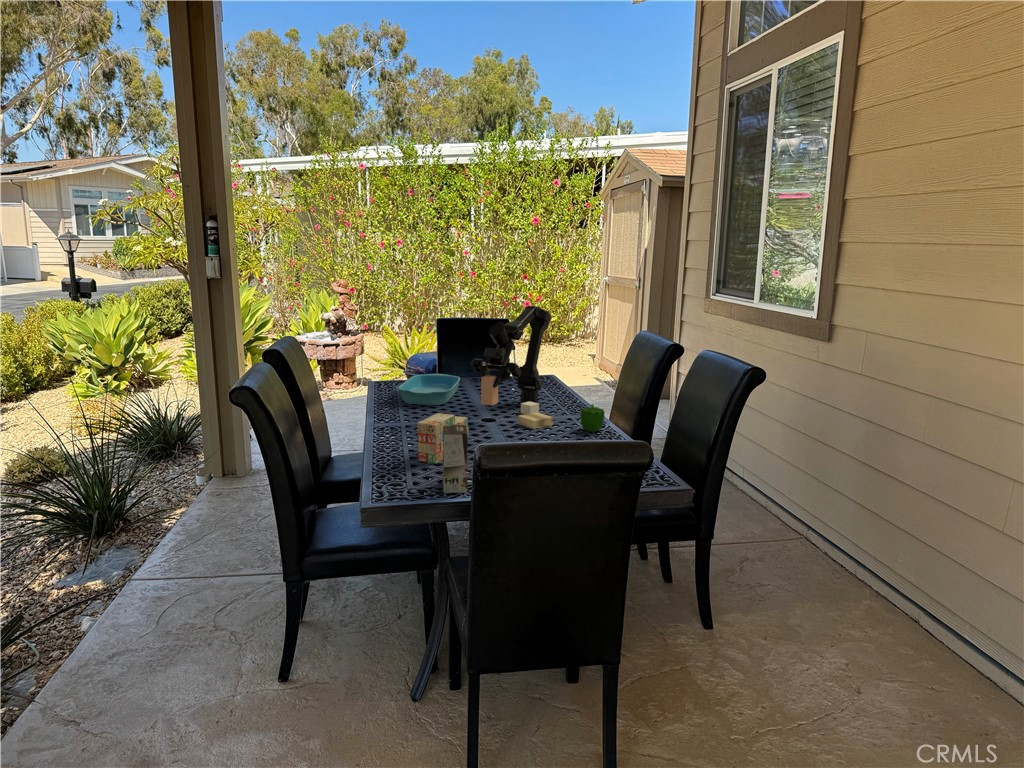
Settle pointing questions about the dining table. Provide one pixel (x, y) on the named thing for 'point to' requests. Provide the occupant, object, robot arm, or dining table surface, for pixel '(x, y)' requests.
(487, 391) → the pillar brick
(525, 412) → the brick
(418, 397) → the casserole dish
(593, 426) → the bell pepper
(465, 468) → the coffee box
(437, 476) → the dining table surface
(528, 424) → the base brick
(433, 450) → the stack of blocks
